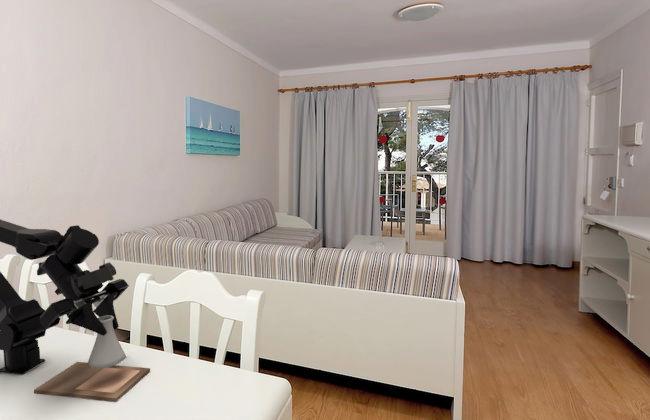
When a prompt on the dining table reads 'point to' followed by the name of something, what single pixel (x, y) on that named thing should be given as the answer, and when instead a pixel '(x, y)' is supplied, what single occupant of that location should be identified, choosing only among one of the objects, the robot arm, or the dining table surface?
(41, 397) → the dining table surface
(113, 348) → the flask
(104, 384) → the walnut board
